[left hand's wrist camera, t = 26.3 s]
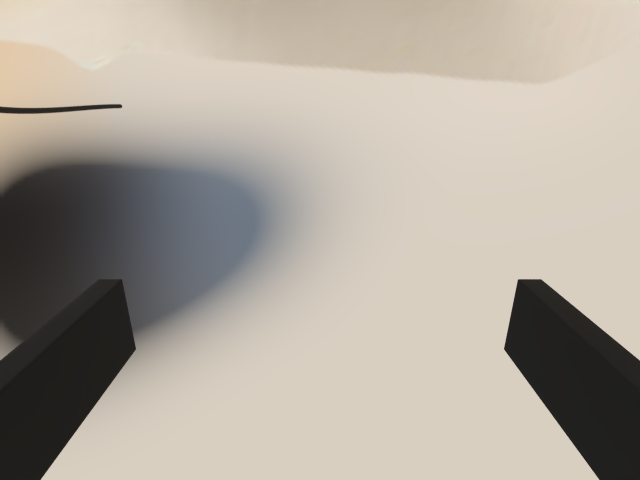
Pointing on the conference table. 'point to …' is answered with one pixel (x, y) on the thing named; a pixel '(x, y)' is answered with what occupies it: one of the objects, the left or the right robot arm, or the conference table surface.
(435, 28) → the conference table surface
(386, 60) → the conference table surface
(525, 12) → the conference table surface
